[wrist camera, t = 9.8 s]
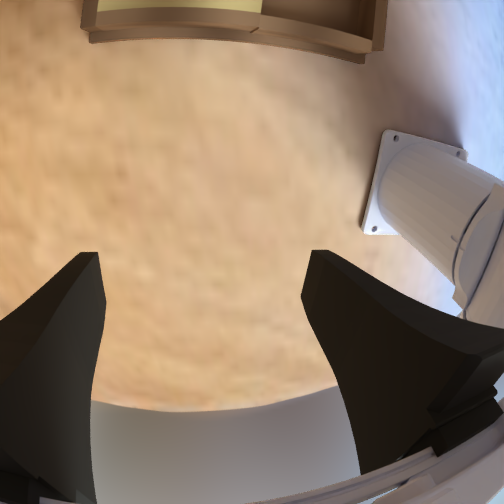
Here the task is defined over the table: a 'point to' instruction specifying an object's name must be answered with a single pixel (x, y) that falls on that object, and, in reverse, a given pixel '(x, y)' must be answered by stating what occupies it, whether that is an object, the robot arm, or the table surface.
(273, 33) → the keyhole track
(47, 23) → the table surface
